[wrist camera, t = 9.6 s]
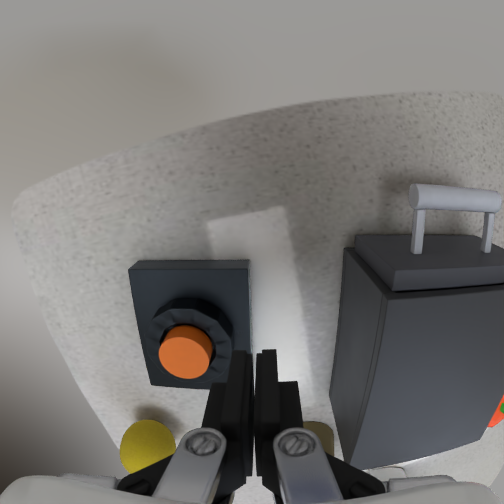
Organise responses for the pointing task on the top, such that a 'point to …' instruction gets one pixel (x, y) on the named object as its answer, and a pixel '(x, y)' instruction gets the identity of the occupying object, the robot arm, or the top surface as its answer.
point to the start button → (186, 352)
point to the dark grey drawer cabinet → (413, 367)
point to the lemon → (145, 445)
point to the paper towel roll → (387, 473)
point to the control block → (192, 312)
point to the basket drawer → (438, 245)
